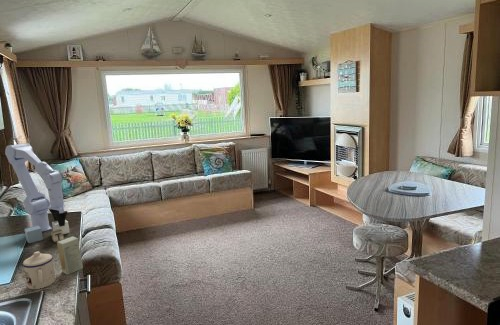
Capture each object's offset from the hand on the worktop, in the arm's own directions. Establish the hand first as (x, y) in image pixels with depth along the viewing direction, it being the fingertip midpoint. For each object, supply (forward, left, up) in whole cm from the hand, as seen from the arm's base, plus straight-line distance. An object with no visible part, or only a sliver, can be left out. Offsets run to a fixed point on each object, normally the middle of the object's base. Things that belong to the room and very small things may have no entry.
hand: (60, 224), depth 176 cm
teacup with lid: (+51, -19, -5) cm, 55 cm away
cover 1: (0, -11, -5) cm, 12 cm away
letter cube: (+8, -3, -5) cm, 10 cm away
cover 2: (0, 0, -5) cm, 5 cm away
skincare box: (+47, -8, -5) cm, 48 cm away
